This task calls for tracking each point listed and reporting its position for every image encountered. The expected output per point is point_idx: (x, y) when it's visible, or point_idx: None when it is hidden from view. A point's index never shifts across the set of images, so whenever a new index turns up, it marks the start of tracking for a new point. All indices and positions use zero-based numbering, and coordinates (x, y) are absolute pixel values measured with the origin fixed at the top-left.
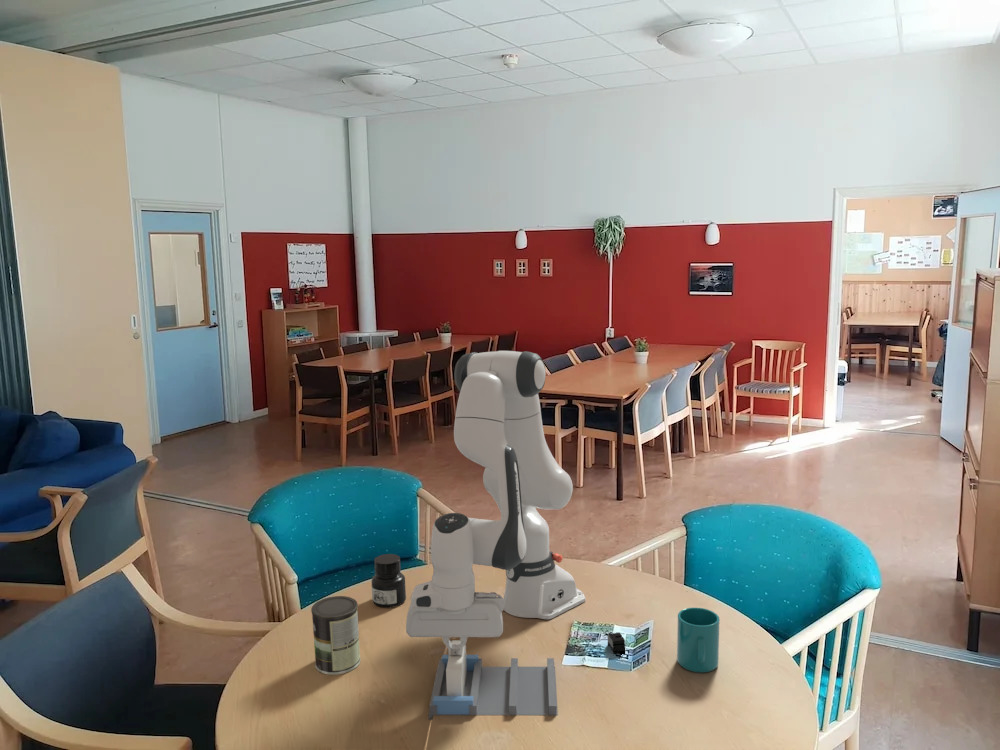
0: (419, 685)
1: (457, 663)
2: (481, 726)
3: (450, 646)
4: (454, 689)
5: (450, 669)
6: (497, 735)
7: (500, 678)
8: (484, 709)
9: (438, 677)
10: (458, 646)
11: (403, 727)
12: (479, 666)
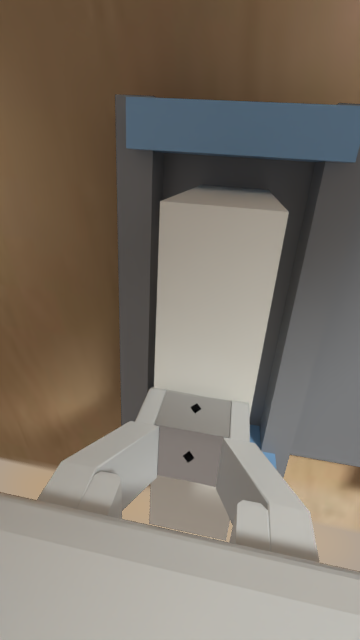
0: (70, 229)
1: (208, 488)
2: (288, 467)
3: (147, 482)
4: None
5: (171, 523)
6: (328, 505)
7: None
8: (310, 433)
9: (132, 289)
10: (212, 461)
11: (72, 431)
12: (347, 208)
